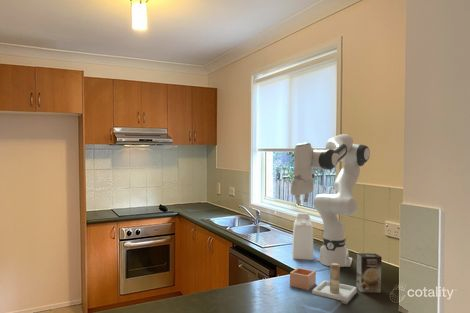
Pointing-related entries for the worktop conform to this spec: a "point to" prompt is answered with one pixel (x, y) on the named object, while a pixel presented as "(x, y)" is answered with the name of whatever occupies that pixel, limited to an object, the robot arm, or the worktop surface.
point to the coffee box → (368, 272)
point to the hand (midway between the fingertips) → (302, 203)
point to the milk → (302, 237)
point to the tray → (343, 295)
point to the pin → (334, 278)
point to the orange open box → (303, 278)
